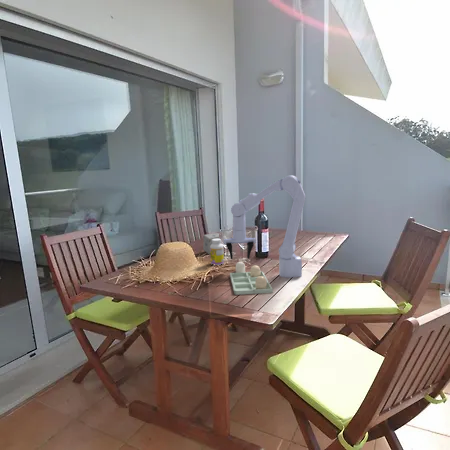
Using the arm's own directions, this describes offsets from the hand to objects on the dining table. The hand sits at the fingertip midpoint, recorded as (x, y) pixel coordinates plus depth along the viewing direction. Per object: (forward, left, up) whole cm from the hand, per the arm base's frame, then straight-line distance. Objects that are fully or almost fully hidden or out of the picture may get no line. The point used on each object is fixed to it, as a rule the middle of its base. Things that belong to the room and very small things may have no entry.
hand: (240, 258), depth 150 cm
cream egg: (0, 0, -7) cm, 7 cm away
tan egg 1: (-6, +10, -6) cm, 13 cm away
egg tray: (-2, +17, -7) cm, 18 cm away
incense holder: (+11, -40, -7) cm, 42 cm away
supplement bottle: (+10, -16, -7) cm, 20 cm away
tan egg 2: (-6, +24, -6) cm, 25 cm away
